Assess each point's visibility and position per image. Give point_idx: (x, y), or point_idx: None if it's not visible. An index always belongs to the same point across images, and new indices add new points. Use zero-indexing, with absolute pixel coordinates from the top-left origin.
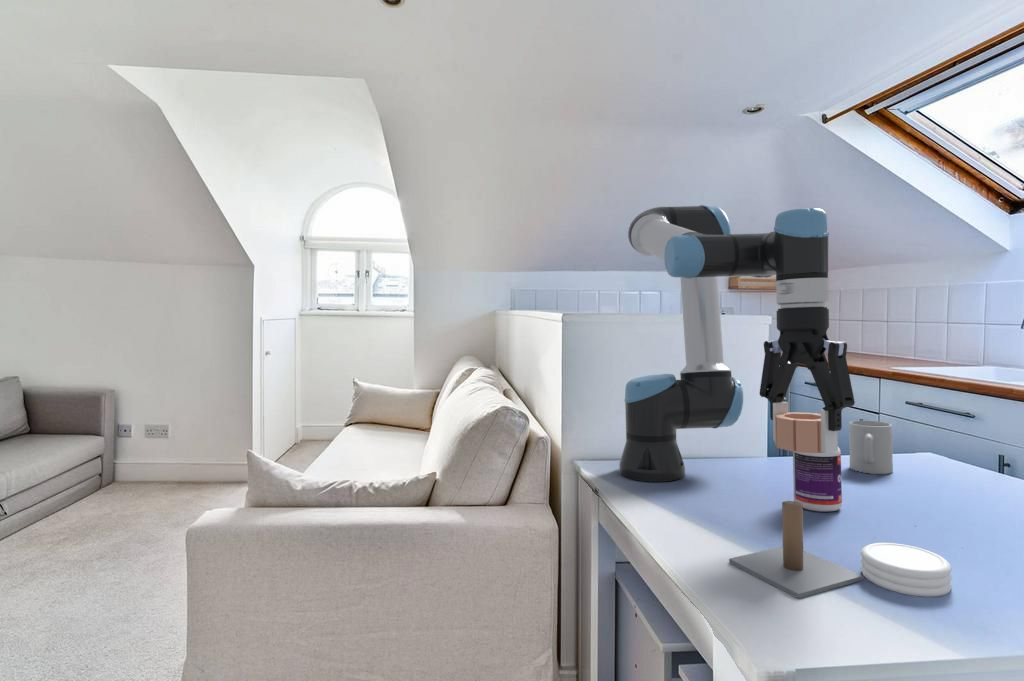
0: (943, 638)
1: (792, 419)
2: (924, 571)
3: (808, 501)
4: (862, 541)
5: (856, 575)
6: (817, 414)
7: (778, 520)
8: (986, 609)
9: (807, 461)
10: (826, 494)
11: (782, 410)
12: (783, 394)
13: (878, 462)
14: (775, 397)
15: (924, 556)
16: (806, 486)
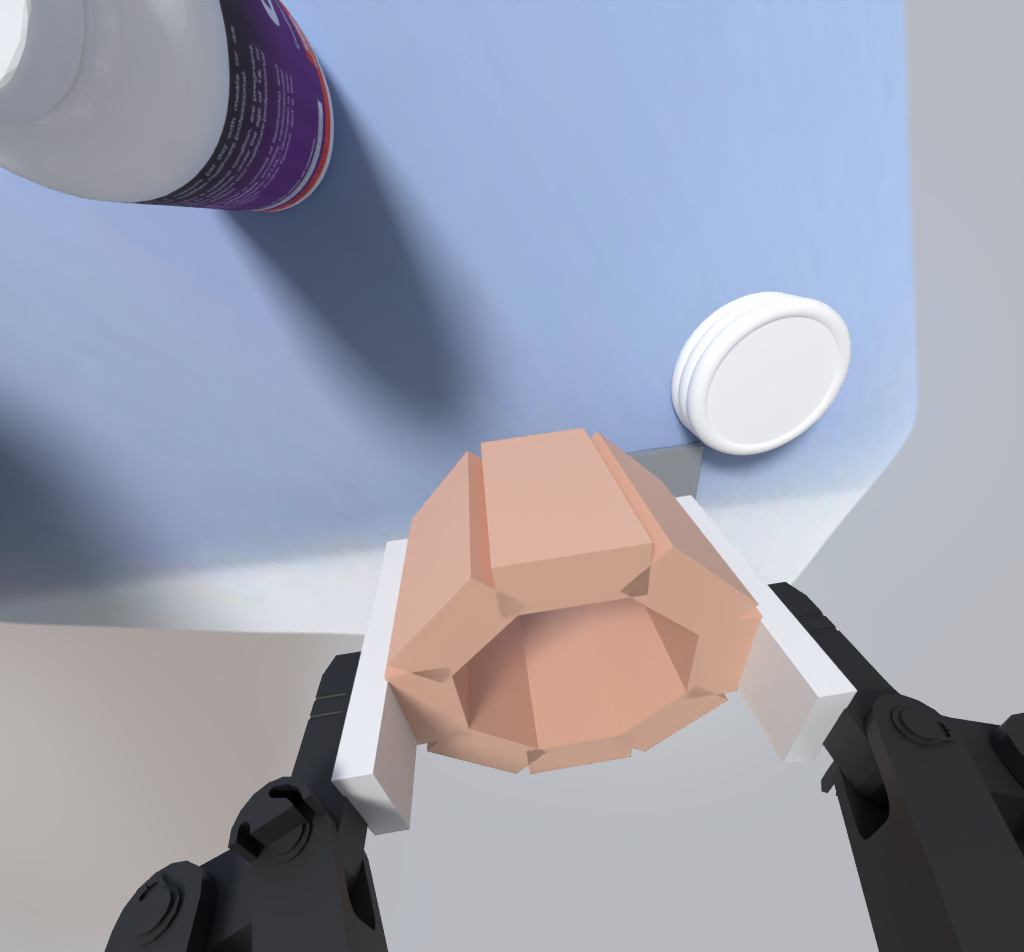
0: (844, 477)
1: (617, 751)
2: (822, 413)
3: (292, 203)
4: (575, 270)
5: (696, 455)
6: (563, 588)
7: (372, 368)
8: (874, 342)
9: (200, 189)
10: (315, 138)
11: (399, 732)
12: (341, 888)
13: None
14: (368, 886)
15: (799, 343)
16: (261, 203)
